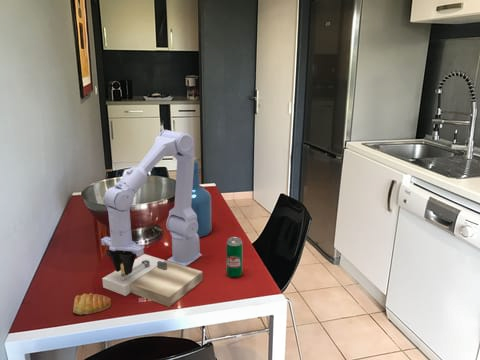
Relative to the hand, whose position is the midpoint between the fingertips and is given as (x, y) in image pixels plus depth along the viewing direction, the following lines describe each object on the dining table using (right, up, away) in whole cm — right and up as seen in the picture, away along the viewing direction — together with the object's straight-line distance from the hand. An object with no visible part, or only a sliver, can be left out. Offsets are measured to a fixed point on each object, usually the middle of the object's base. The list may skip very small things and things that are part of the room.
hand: (124, 271), depth 115 cm
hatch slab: (+12, -5, +3) cm, 14 cm away
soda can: (+32, -3, +10) cm, 34 cm away
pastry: (-7, -8, -8) cm, 13 cm away
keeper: (+10, -1, +7) cm, 12 cm away
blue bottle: (+16, +6, +41) cm, 45 cm away
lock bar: (+2, -1, +4) cm, 5 cm away
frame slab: (+2, -3, +7) cm, 8 cm away
